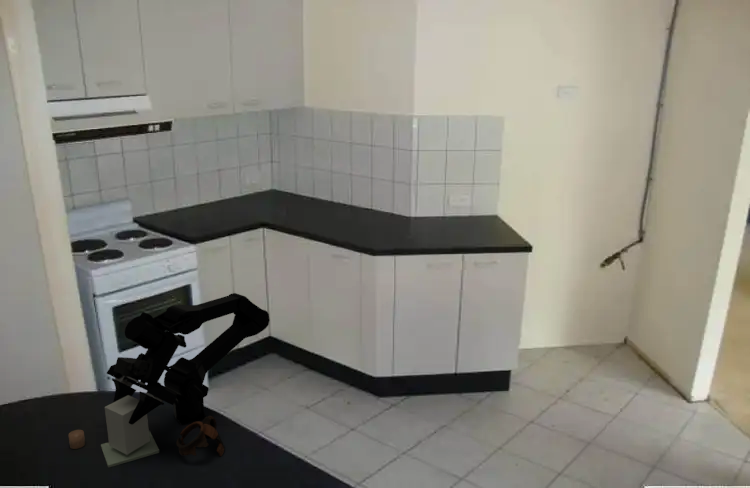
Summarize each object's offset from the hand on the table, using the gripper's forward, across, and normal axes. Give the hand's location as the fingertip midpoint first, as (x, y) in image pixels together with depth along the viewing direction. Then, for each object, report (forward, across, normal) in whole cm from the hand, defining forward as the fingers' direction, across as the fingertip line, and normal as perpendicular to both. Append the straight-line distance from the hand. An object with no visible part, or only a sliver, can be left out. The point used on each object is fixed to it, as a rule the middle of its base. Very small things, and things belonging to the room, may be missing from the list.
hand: (121, 419), depth 142 cm
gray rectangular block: (+4, 0, +6) cm, 7 cm away
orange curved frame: (-2, +14, +14) cm, 20 cm away
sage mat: (+5, 0, +7) cm, 9 cm away
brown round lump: (+9, -11, +3) cm, 15 cm away
